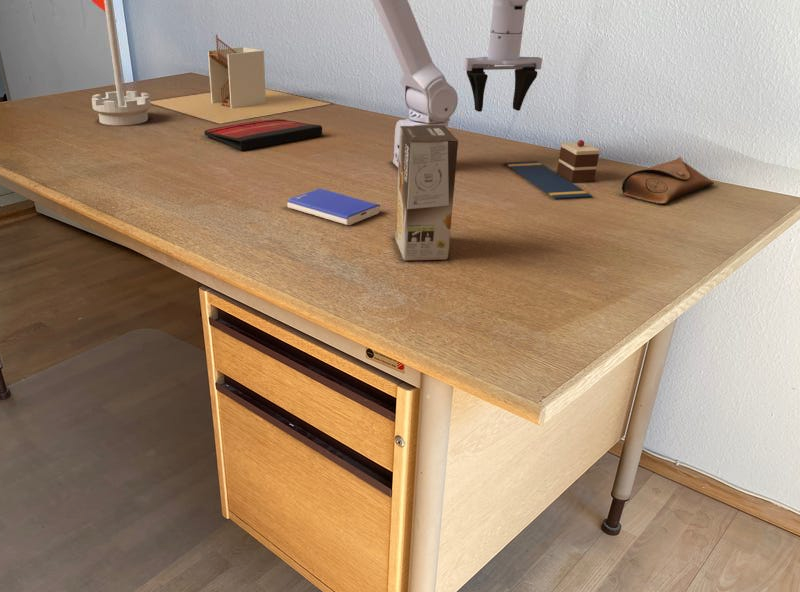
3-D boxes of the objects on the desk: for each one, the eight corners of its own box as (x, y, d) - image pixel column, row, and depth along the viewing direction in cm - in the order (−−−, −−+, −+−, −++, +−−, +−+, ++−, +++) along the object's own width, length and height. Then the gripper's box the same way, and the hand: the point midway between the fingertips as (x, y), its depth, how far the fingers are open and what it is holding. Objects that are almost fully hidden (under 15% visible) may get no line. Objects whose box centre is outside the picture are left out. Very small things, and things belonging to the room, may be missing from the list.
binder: (322, 124, 159) (240, 139, 148) (322, 135, 161) (241, 151, 149) (278, 115, 170) (199, 128, 159) (279, 125, 172) (200, 139, 160)
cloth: (555, 199, 124) (555, 197, 124) (504, 164, 142) (505, 162, 142) (591, 197, 125) (591, 195, 125) (536, 162, 144) (536, 160, 143)
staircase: (211, 103, 191) (205, 33, 182) (245, 97, 197) (242, 29, 189) (231, 108, 185) (226, 36, 177) (265, 102, 192) (263, 33, 183)
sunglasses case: (667, 203, 121) (655, 164, 120) (628, 215, 126) (617, 177, 126) (717, 183, 131) (706, 146, 130) (679, 194, 137) (668, 160, 136)
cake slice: (571, 182, 132) (577, 144, 129) (556, 173, 137) (562, 136, 134) (594, 181, 133) (601, 143, 130) (578, 172, 138) (584, 135, 135)
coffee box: (449, 260, 100) (460, 140, 92) (403, 261, 100) (409, 141, 92) (436, 236, 108) (445, 123, 100) (392, 237, 108) (398, 124, 100)
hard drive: (287, 199, 118) (347, 216, 111) (321, 187, 123) (380, 203, 116) (287, 208, 119) (346, 226, 112) (321, 196, 124) (380, 213, 117)
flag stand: (164, 118, 175) (148, -25, 160) (122, 129, 165) (102, -23, 150) (124, 111, 181) (106, -27, 166) (82, 121, 171) (59, -25, 156)
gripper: (475, 35, 129) (468, 115, 136) (553, 34, 132) (541, 113, 138) (462, 30, 135) (455, 107, 142) (537, 30, 138) (526, 105, 144)
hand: (497, 110), depth 141 cm, fingers open, 7 cm apart
